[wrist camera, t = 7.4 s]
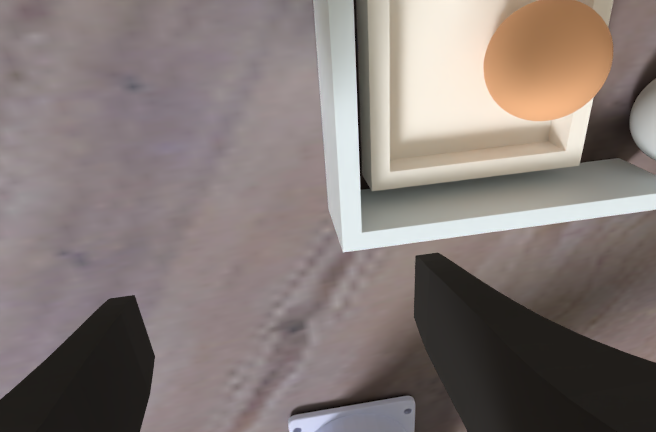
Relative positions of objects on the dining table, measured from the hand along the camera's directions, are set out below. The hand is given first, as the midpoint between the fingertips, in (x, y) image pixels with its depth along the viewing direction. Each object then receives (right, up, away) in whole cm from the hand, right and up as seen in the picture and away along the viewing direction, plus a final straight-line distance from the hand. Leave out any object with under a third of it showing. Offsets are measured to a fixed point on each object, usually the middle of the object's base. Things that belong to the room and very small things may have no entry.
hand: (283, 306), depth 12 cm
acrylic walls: (+8, +8, +8) cm, 14 cm away
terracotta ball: (+8, +9, +7) cm, 13 cm away
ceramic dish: (+7, +9, +8) cm, 14 cm away
